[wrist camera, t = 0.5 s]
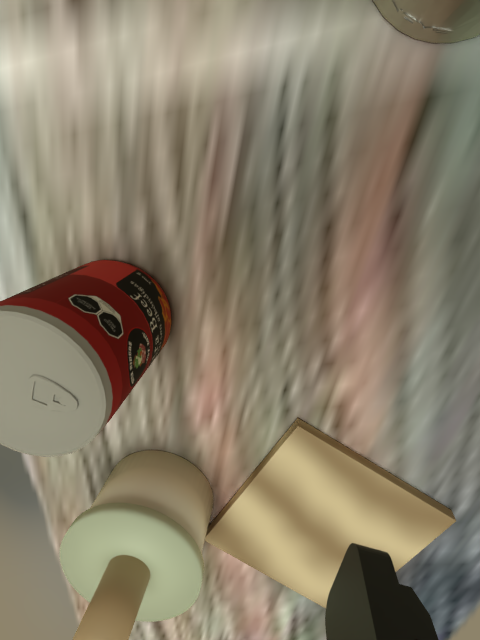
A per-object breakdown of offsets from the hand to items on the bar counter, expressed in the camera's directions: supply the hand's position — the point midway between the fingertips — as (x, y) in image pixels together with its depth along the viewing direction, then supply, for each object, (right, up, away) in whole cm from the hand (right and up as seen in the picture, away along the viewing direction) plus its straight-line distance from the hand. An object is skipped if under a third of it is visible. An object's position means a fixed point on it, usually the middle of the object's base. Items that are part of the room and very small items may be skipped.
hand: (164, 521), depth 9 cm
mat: (+8, -12, +24) cm, 28 cm away
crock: (-5, -10, +25) cm, 28 cm away
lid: (-6, -12, +19) cm, 24 cm away
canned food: (-7, +5, +20) cm, 22 cm away
